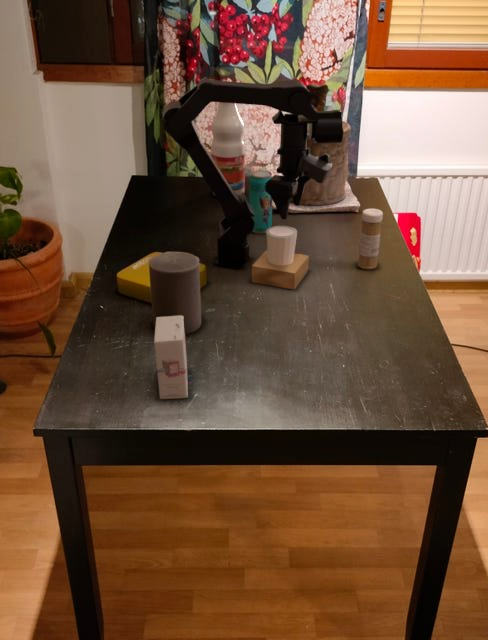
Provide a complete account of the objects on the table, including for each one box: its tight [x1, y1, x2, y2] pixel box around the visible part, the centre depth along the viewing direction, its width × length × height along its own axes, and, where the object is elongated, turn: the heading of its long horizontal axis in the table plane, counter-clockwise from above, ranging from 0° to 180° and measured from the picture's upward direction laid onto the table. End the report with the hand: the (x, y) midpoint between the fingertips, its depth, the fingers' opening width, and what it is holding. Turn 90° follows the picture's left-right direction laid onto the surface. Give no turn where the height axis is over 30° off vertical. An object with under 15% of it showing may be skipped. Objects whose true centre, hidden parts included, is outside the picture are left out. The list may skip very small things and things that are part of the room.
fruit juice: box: [210, 102, 246, 197], centre depth 199 cm, size 9×9×28 cm
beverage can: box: [249, 169, 273, 235], centre depth 180 cm, size 6×6×15 cm
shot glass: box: [265, 225, 298, 266], centre depth 157 cm, size 7×7×7 cm
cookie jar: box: [272, 83, 361, 214], centre depth 195 cm, size 25×25×32 cm
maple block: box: [251, 248, 310, 290], centre depth 160 cm, size 10×10×4 cm
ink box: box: [153, 315, 189, 400], centre depth 122 cm, size 9×5×12 cm, turn 5°
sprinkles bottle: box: [357, 208, 384, 270], centre depth 163 cm, size 5×5×13 cm
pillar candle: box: [149, 251, 202, 335], centre depth 139 cm, size 10×10×15 cm
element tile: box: [116, 251, 208, 305], centre depth 155 cm, size 15×15×5 cm
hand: (290, 212), depth 162 cm, fingers open, 9 cm apart
